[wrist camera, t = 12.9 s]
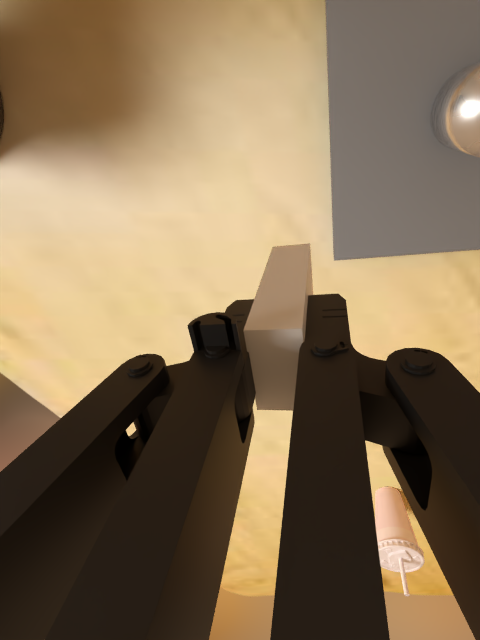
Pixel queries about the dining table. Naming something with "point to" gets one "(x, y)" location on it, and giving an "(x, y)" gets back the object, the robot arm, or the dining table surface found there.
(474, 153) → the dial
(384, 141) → the grey base plate
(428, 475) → the robot arm
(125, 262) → the dining table surface
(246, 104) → the dining table surface
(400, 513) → the smoothie
